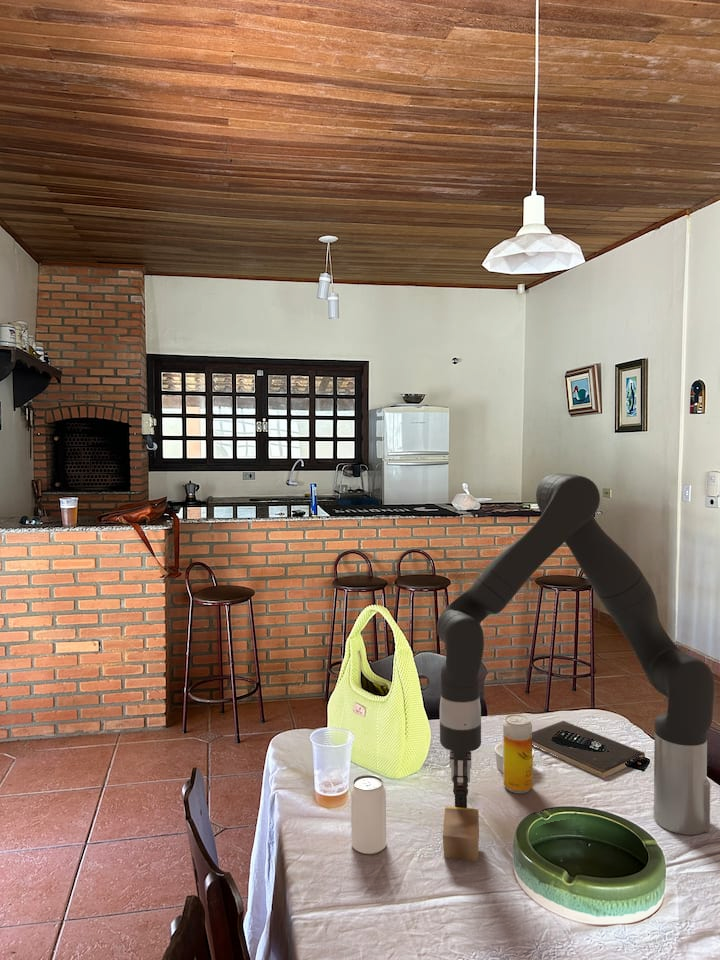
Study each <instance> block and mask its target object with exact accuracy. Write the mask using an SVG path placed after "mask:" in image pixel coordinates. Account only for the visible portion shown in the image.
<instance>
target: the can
mask: <svg viewBox="0 0 720 960" xmlns="http://www.w3.org/2000/svg"><path fill="white" fill-rule="evenodd" d="M386 793H387V791H386V788H385V785H384V781H383V779H382V778H381V777H380V776H377V775H374V774H364V775H360V776H356V777H355V778H354V779H353V781H352V786H351V790H350V823H351V824H350V827H351V828H350V829H351V831H350V832H351V833H350V835H351V847H352V848H353V849H354V850H355V851H356V852H357V853H360V854H363V855H376V854H378V853H380V852H382V851H383V850H384V849H386V846H387V797H386V796H387V795H386Z"/></svg>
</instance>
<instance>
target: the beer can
mask: <svg viewBox="0 0 720 960" xmlns="http://www.w3.org/2000/svg"><path fill="white" fill-rule="evenodd" d="M532 732H533V724H532V721H531V718H529V717H528V716H525V715H522V714H508V715H506V716H504V720H503V721H502V743H503V772H502V778H503V779H502V781H503V786H505V788H506V789H507V791H508V792H511V793H514V794H526V793H528V792H529V791H530V789H531V788H532V787H533V766H532V749H533V746H532Z"/></svg>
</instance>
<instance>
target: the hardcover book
mask: <svg viewBox="0 0 720 960" xmlns="http://www.w3.org/2000/svg"><path fill="white" fill-rule="evenodd" d="M562 730H563V731H568V732H571V733H574V734H577V735H579V736H583V737H586V738H589V739H593V740H594V741H596V742H599V743H601V744H603V745H605V746H604V747H605V749H606V752H593V751H588V750H583V749H582V750H581V749H578V748H573V747H567V746H563V745H562V746H561V745H559V744H556V743H555V742H553V741H552V740H551V739H552V737H553V736H554V735H555V734H556V733H557V732H558V731H562ZM599 743H598V744H599ZM532 744H533V745H535V746H537V747H539V748H541V749H543V750H545V751H547V752H549V753H552V754H554V755H556V756H558V757H560V758H562V759H563V761H564V760H565V762H567V763H569V764H571V765H573V766H576V767H578V768H579V769H582V770H584V771H586V772H589V773H591V774H593V775H595V776H598V777H600V778H602V779H604V778H606V777H609V776H610V775H613V774H615V773H616V772H619V771H621V770H623V769H625V766H626V765H625V763H627V761H629V760H632V759H634V758H636V757H638V756H639V757H645V758H646V755H645V754H646V753H645V752H644V751H641V750H639V749H636V748H634V747H631V746H628V745H625V744H623V743H621V742H618V741H615V740H612V739H611V738H608V737H606V736H603V735H601V734H598V733H596V732H593V731H590V730H587V729H585V728H582V727H580V726H577V725H576V724H573V723H570V722H568V721H566V720H561V721H559V722H557V723H554V724H551V725H549V726H546V727H543V728H540V729H537V730H535V731H532ZM606 745H608V746H607V747H606ZM612 748H613V749H612ZM545 751H544V752H545ZM607 751H609V752H607ZM547 752H546V753H547ZM549 753H548V754H549ZM556 756H555V757H556ZM558 757H557V758H558ZM560 758H559V759H560ZM562 759H561V760H562Z"/></svg>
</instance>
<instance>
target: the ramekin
mask: <svg viewBox="0 0 720 960" xmlns="http://www.w3.org/2000/svg"><path fill="white" fill-rule="evenodd" d="M494 753H495V761H496V762H495V763H496V767H497V769H498V770H499V771H500V772H501V773H503V742H500V743H498V744H496V745H495V747H494ZM534 756H535V750H534V748H532V767H533V764H534Z"/></svg>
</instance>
